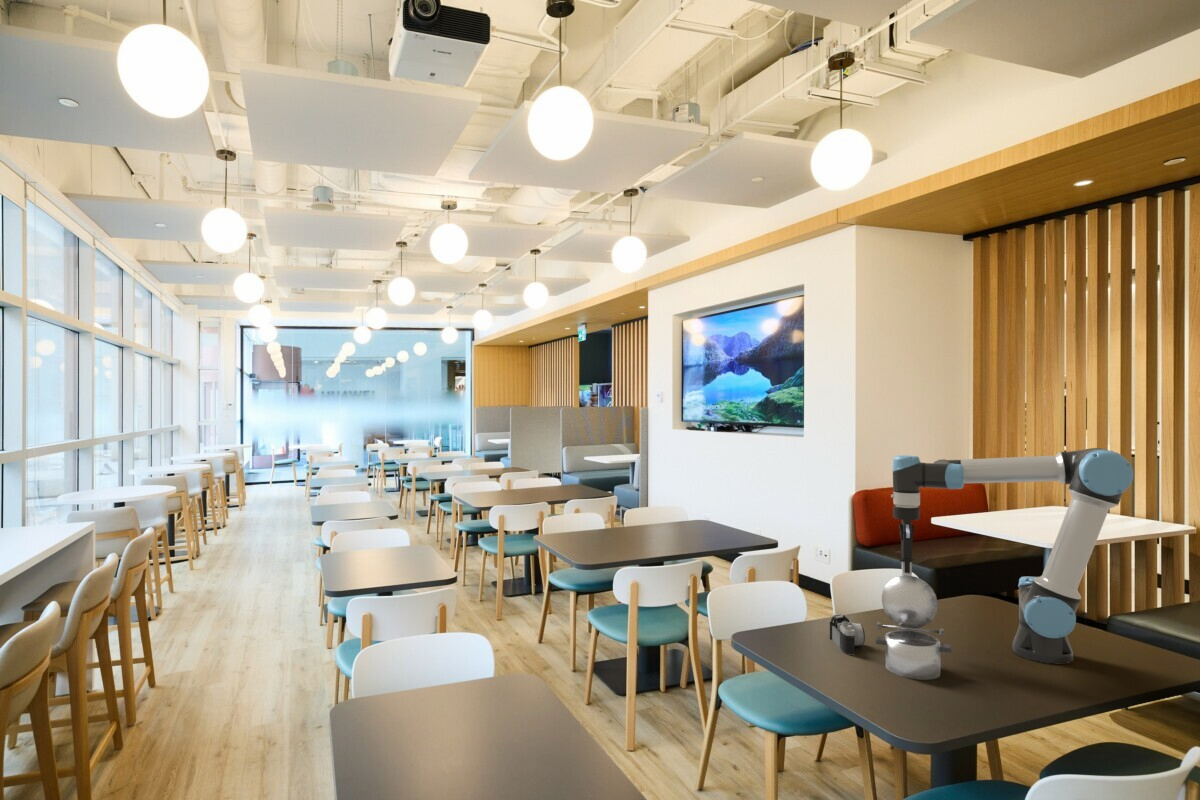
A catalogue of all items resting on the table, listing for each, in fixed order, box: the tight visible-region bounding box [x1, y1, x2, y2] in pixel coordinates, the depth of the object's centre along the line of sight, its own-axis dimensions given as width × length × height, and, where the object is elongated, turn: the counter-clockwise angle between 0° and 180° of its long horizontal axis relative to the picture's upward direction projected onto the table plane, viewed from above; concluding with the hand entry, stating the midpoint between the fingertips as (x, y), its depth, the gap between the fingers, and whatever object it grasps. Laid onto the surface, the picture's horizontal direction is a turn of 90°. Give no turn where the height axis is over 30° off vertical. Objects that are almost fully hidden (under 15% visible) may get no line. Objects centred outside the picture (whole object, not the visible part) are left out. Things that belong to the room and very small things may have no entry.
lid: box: [881, 575, 940, 634], centre depth 199 cm, size 16×15×3 cm
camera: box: [829, 613, 866, 656], centre depth 207 cm, size 16×9×10 cm, turn 177°
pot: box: [875, 621, 952, 681], centre depth 189 cm, size 16×19×10 cm
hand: (906, 582), depth 206 cm, fingers closed
